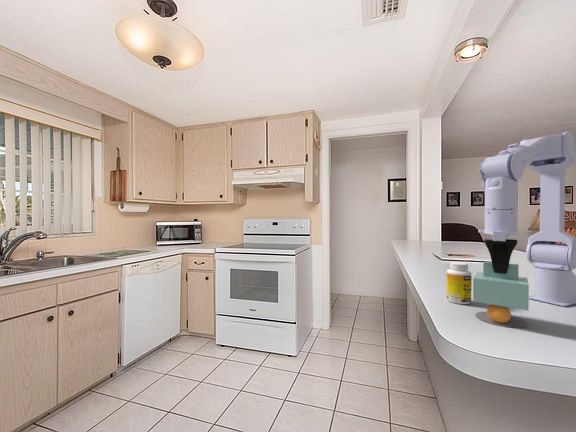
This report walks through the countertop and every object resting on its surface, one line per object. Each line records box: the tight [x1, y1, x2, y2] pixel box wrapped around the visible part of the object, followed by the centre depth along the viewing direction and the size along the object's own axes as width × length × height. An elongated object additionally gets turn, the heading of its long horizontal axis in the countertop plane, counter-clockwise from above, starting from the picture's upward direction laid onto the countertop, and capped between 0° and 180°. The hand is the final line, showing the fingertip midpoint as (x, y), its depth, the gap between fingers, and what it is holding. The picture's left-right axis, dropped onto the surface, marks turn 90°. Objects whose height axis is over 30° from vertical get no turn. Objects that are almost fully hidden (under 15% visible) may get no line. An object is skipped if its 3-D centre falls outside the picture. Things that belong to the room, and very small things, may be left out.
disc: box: [475, 311, 529, 329], centre depth 60 cm, size 9×9×1 cm
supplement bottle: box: [446, 261, 473, 305], centre depth 73 cm, size 6×6×10 cm
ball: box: [486, 304, 512, 323], centre depth 58 cm, size 4×4×4 cm
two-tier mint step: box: [472, 261, 530, 311], centre depth 60 cm, size 9×9×8 cm
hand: (500, 272), depth 60 cm, fingers closed on two-tier mint step
